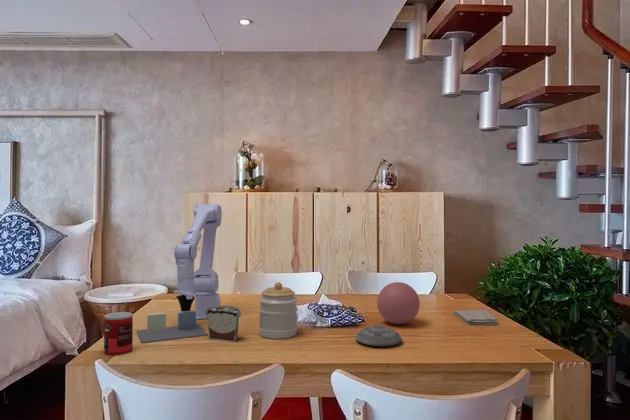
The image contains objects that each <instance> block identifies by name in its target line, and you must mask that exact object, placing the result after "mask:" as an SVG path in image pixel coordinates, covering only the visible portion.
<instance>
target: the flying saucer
mask: <svg viewBox="0 0 630 420" xmlns="http://www.w3.org/2000/svg"><path fill="white" fill-rule="evenodd" d="M354 337H355V339H356V340H355V341H357V342H359V343H360V344H364V345H365V346H366V345H367V346H372V347H391V346H394V345H395V346H396V345H398V344H400V343H402V341H403V338H402V336H401V335H400V333H399V332H397V331H396V330H394V329H393V328H390V327H387V326H384V325H379V324H378V325H377V324H376V325H372V326H368V327H365V328H362V329H361V330H360V331H358V332H357V333H356V335H355V336H354Z"/></svg>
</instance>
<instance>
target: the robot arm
mask: <svg viewBox="0 0 630 420" xmlns="http://www.w3.org/2000/svg"><path fill="white" fill-rule="evenodd" d="M222 215H223V211H222V207H221V206H220V204H219V203H218V204H217V203H216V204H210V203H209V204H207V203H206V204H204V203H203V204H202V203H201V204H199V203H196V204H195V205H194V207H193V218H194V219H193V223H192V225H191V228H188V229H187V230H186V231H185V234H184V236H183V238H182V239H181V242H180V243H179V244H177V245H176V246H175V248H174V253H173V255H174V260H175V265H176V269H177V271H176V272H177V273H176V274H177V275H176V277H177V281H176V283H177V284H176V285H177V286H176V287H177V288H176V289H177V290H176V289H175V290H173V293H174V294H178V295H177V296H176V298H177V301H178V302H179V306H180V307H179V308H180V311H190V310H192V309H191V308H192V305H193V303H194V310H195V311H196V320H205V319H208V318H207V314H206V310H207V308H210V307H215V306H221V296H220V293H219V292H218V291H219V286H220V285H219V283H220V281H219V274H218V272H216V270H214V269H213V263H214V256H215V255H214V253H215V245H216V244H215V243H216V235H217V229H218V228H219V227H221V224H222V217H223V216H222ZM202 230H203V233H201V232H202ZM201 240H202V243H201V250H200V251H201V252H200V260H199V267H198V269H196V270H195V260H196V259H197V256H198V249H199V248H198V246H199V243H200V241H201Z"/></svg>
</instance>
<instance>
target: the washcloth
mask: <svg viewBox="0 0 630 420" xmlns="http://www.w3.org/2000/svg"><path fill="white" fill-rule="evenodd" d="M453 314H454V315H455V316H456V317H457V318H458V319H460V320H461V321H462V322H463V323H465V324H466V325H468V326H498V324H499V323H498V322H497V320H498V319H497V318H496V317H495V315H494V314H491V313H490V312H488V311H487V310H485V309H470V310H467V309H460V310H459V309H456V310H454V313H453Z"/></svg>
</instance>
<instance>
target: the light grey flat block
mask: <svg viewBox="0 0 630 420" xmlns="http://www.w3.org/2000/svg"><path fill="white" fill-rule="evenodd" d="M196 321H197V319H196V311H195V309H193V310H192V309H190V311H181V310H180V311H177V324H176V326H177V329H178V330H181V329H190V328H196V324H197V323H196Z"/></svg>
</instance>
